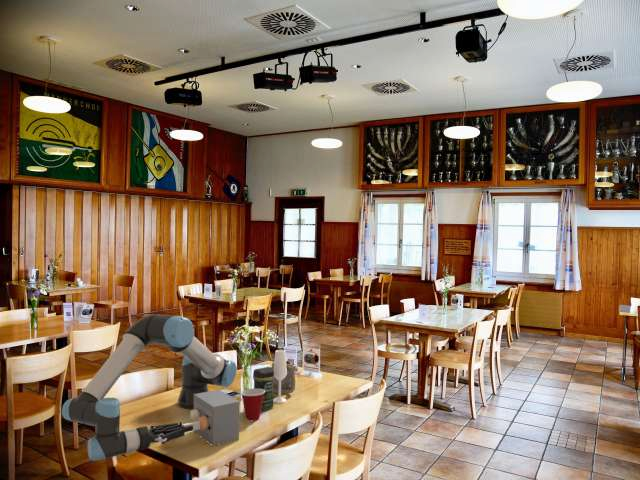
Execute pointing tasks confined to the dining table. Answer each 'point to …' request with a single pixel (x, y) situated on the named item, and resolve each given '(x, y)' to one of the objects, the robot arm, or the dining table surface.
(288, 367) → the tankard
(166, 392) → the dining table surface
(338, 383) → the dining table surface
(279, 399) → the champagne flute
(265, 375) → the coffee jar
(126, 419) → the dining table surface
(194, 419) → the ivory knob
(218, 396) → the block
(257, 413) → the plastic cup
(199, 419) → the terracotta knob
